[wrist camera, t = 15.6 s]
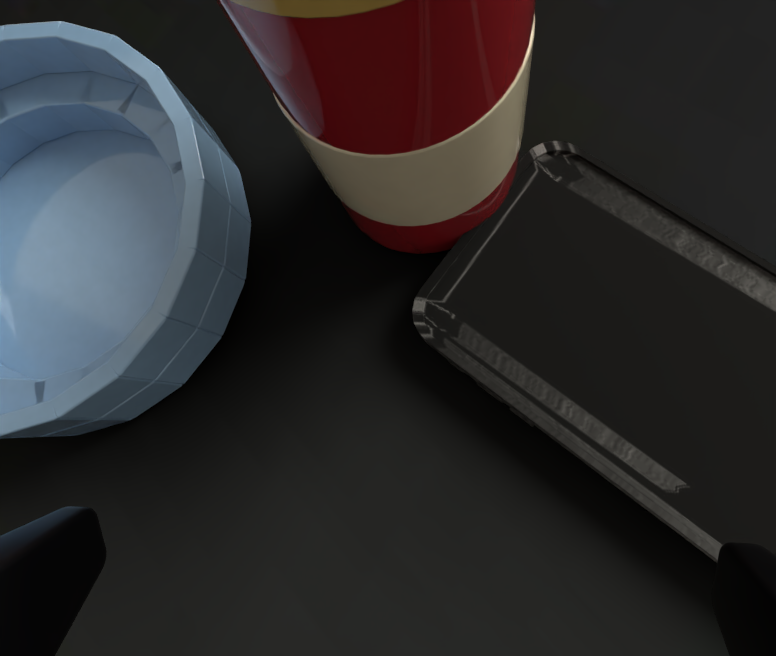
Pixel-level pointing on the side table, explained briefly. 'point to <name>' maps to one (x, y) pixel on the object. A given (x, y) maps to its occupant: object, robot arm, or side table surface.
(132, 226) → the bowl
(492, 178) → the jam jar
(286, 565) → the side table surface
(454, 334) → the phone
